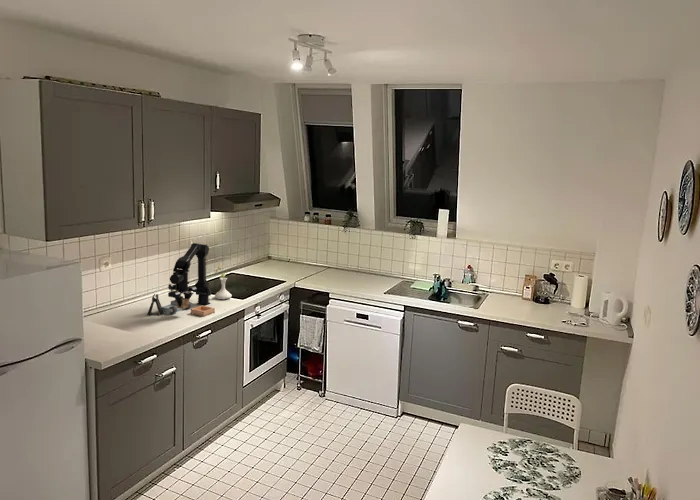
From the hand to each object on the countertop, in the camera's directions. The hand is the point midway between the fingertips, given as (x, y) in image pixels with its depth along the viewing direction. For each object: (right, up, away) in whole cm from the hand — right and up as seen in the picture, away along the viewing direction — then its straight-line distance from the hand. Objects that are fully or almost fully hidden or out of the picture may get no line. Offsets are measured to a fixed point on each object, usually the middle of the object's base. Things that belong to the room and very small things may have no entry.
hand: (182, 305), depth 327 cm
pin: (-7, 0, +12) cm, 14 cm away
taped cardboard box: (0, -1, 0) cm, 1 cm away
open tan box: (+10, -6, +8) cm, 14 cm away
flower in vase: (+14, 0, +43) cm, 45 cm away
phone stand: (-17, -6, +2) cm, 18 cm away
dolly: (-7, -4, +11) cm, 13 cm away
